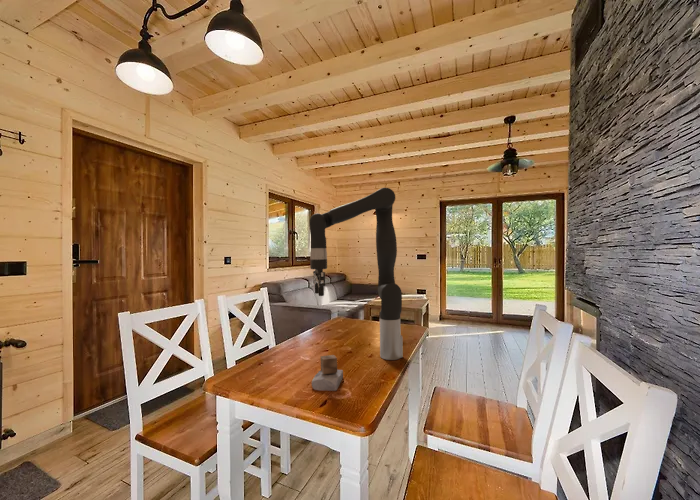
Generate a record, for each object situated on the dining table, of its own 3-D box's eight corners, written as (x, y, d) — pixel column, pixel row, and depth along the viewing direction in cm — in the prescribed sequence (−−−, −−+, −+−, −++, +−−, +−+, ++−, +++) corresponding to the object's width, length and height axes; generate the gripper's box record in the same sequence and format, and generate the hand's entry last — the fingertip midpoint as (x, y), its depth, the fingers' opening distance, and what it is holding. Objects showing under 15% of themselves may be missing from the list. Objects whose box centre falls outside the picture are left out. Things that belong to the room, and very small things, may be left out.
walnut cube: (334, 368, 107) (333, 354, 107) (337, 372, 102) (336, 358, 103) (320, 370, 105) (320, 356, 106) (323, 374, 101) (323, 359, 101)
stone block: (310, 396, 98) (338, 392, 96) (307, 381, 98) (335, 377, 96) (320, 381, 109) (345, 378, 108) (317, 369, 110) (342, 365, 108)
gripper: (330, 258, 123) (331, 296, 123) (323, 258, 137) (323, 292, 137) (313, 258, 121) (313, 297, 121) (307, 258, 134) (308, 293, 134)
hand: (319, 294), depth 129 cm, fingers open, 8 cm apart
